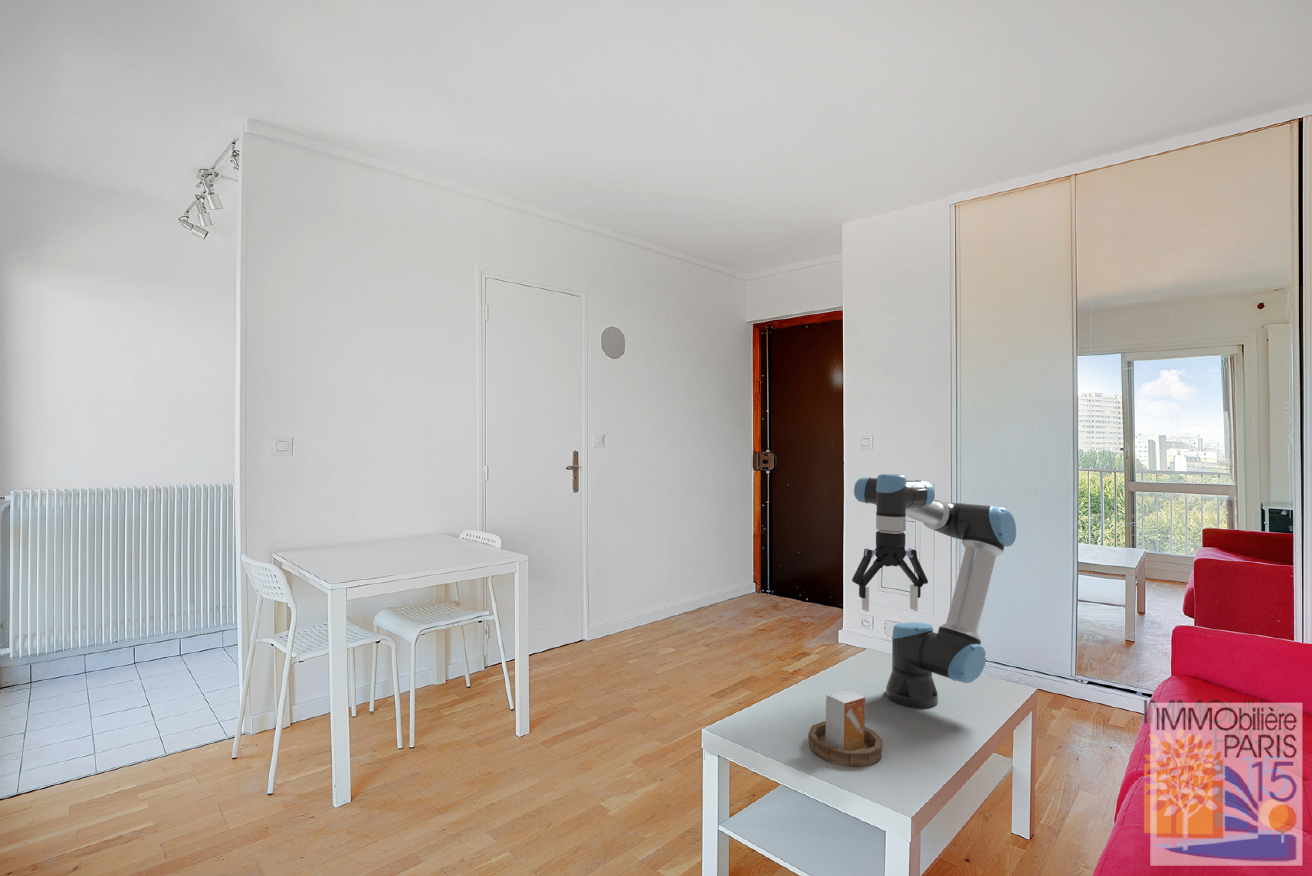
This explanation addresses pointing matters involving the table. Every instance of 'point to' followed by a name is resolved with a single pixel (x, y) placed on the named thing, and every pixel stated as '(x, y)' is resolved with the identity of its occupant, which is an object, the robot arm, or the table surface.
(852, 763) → the walnut bowl
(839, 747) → the small box
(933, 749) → the table surface
